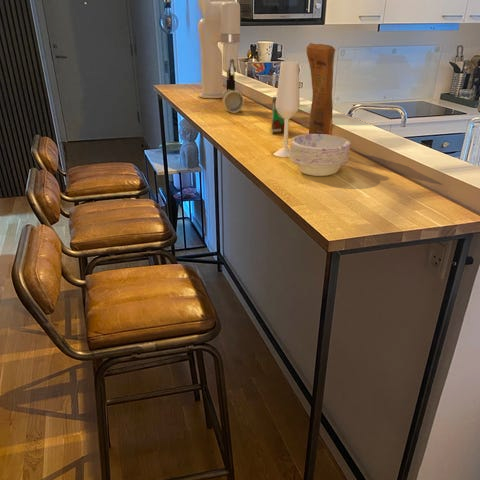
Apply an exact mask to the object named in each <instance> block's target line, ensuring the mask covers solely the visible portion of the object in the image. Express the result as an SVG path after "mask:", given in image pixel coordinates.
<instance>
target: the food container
mask: <svg viewBox="0 0 480 480" xmlns="http://www.w3.org/2000/svg"><path fill="white" fill-rule="evenodd" d="M276 97H277V96H272V102H271V103H272V105H271V107H272V108H271V132H272V133H271V134H272V135H281V134H284V124H285V119H284V118H283V117H282V116H281V115H280V114H279V113H278V111H277V110H276V107H275V105H276Z"/></svg>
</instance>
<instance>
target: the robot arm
mask: <svg viewBox="0 0 480 480" xmlns="http://www.w3.org/2000/svg"><path fill="white" fill-rule="evenodd" d="M197 3H198V9H199V12H200V13H201V14H202V17H203V18H201V19H200V20H199V21H198V23H197V34H198V40H199V47H200V68H201V71H200V72H201V92H200V93H198V97H199V98H202V99H222V96H223V94H224V92H223V90H224V88H223V71H224V73H226V90H228V89H236V79H235V77H236V76H235V75H236V72H237V71H238V45H239V44H241V5H240V3H239V2H238V1H236V0H197ZM217 43H220V44H222V50H221V48H220V47H219V46H218V44H217Z"/></svg>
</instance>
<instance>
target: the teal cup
mask: <svg viewBox="0 0 480 480" xmlns="http://www.w3.org/2000/svg"><path fill="white" fill-rule="evenodd" d="M223 93H224V94H223V96H222V98H221V99H222V100H221V103H222V105H223V107H224V108H225V110H226V111H228V112H229V113H231V114H233V113H234V114H235V113H238V112H240V111H242V109H243V107H244V105H245V98H244V96H243V94H242V93H241V92H240V90H238V89H236V88H235V89H228V90H227V89H226V90H225V91H224V92H223Z"/></svg>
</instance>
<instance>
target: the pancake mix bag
mask: <svg viewBox="0 0 480 480" xmlns="http://www.w3.org/2000/svg"><path fill="white" fill-rule="evenodd" d="M335 54H336V48H335V47H334V46H333V45H329V44H324V43H312V42H310V43H308V45H307V46H306V57H307V60H308V65H309V70H310V77H311V78H310V79H311V88H312V98H311V105H310V113H309V125H308V134H327V135H333V110H334V109H333V108H334V107H333V106H334V105H333V89H334V64H335Z"/></svg>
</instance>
